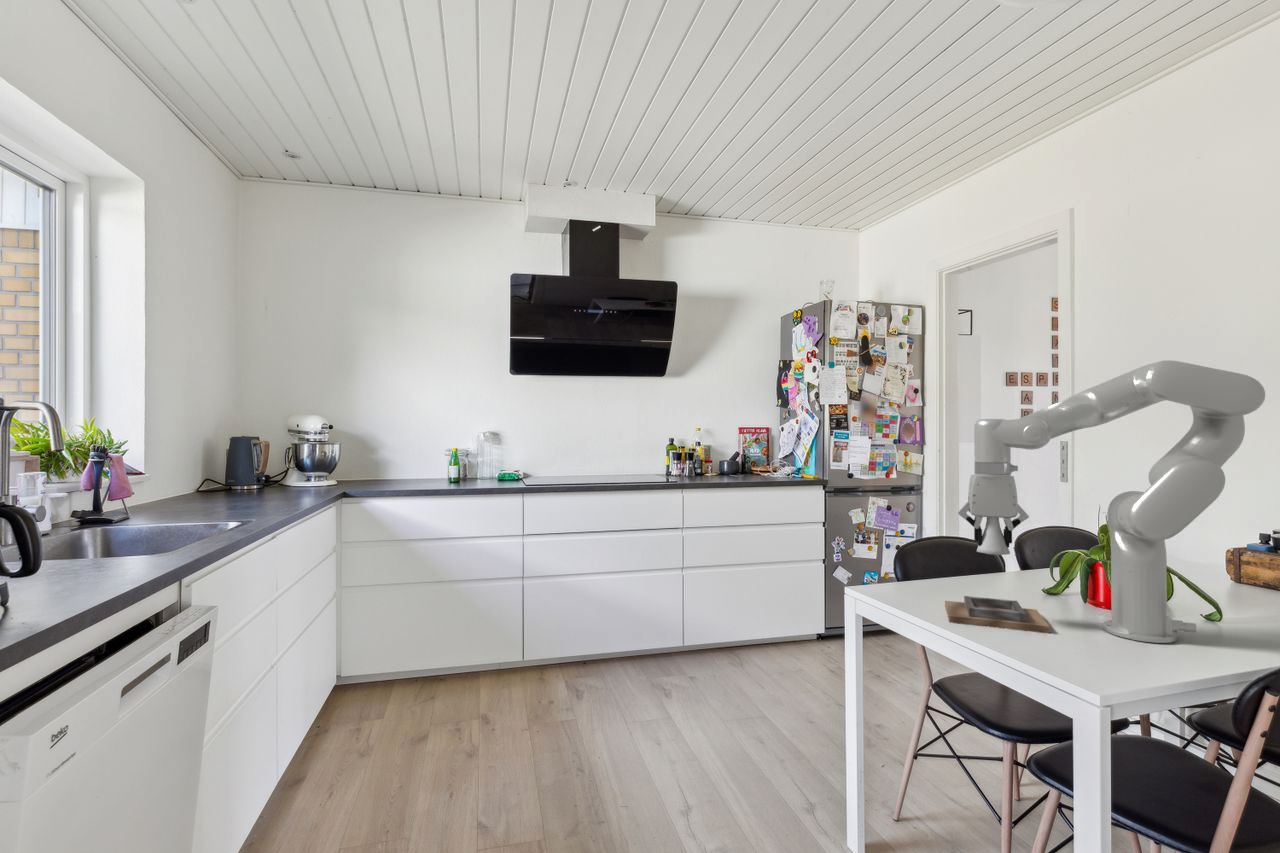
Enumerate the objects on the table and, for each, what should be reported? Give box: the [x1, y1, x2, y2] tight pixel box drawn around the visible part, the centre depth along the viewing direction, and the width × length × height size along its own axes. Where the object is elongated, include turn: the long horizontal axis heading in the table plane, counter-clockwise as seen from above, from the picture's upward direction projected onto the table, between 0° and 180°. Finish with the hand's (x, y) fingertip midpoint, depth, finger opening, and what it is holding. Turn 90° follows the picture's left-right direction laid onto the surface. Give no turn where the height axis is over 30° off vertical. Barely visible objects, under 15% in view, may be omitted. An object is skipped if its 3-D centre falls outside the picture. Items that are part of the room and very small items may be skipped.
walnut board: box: [944, 595, 1051, 634], centre depth 144 cm, size 20×14×4 cm
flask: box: [976, 517, 1011, 556], centre depth 144 cm, size 7×7×10 cm
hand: (992, 544), depth 144 cm, fingers closed on flask, 5 cm apart
